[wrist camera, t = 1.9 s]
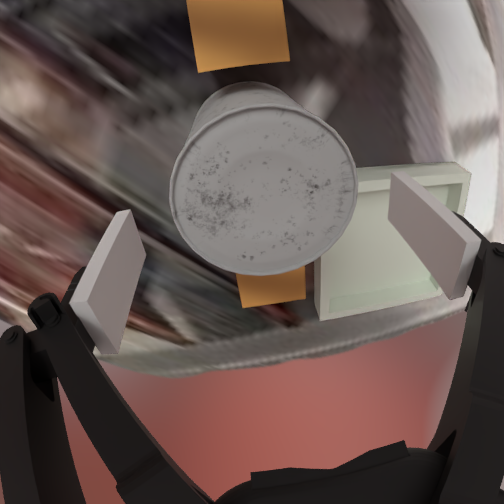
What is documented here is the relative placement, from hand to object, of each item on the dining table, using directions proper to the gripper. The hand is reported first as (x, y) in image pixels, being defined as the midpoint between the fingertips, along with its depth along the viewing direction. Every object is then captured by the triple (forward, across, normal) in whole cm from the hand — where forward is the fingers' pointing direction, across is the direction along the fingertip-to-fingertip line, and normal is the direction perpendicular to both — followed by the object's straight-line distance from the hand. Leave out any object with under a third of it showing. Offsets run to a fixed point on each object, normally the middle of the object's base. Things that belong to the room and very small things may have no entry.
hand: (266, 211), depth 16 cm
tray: (+13, +13, -12) cm, 22 cm away
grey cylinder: (+13, 0, 0) cm, 13 cm away
